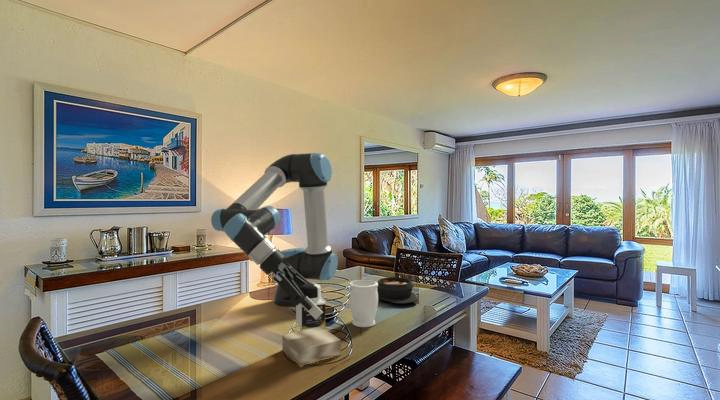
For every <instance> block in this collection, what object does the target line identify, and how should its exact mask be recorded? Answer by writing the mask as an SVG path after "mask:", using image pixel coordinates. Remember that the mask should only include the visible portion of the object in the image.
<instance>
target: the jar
mask: <svg viewBox="0 0 720 400" xmlns="http://www.w3.org/2000/svg"><path fill="white" fill-rule="evenodd" d="M377 286H378V281H376V280H372V279H358V280H352V281H351V282H350V283H349V287H350V291H349V306H350V313H351V316H352V319H353V320H352V325H353V326H355V327H358V328H369V327H373V326H374V325H376V320H375V318H376V316H377V312H378V306H379V299H378V292H377V289H378V288H377Z"/></svg>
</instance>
